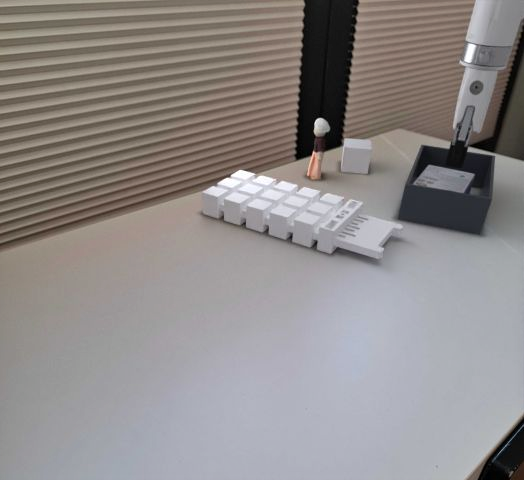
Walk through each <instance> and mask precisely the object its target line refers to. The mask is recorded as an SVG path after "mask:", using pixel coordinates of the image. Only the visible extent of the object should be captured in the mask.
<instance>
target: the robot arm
mask: <svg viewBox="0 0 524 480" xmlns="http://www.w3.org/2000/svg"><path fill="white" fill-rule="evenodd" d="M522 20H524V0H475V2H474V5H473V9H472V12H471V17H470V20H469V23H468V28H467V32H466V36H465V40H464V43H463V47H462V52H461V55H460V58H459V62H458V63H459V65H461V66H463V67H465V69H464V72H463V76H462V80H461V84H460V88H459V92H458V96H457V101H456V106H455V111H454V116H453V123H452V129H453V130H454V131H455V132H454V135H453V139H452V141H450V144H449V147H448V149H449V151H448V155H447V159H446V162H445V165H446V166H449V167H455V168H462V167H463V164H464V160H465V157H466V154H467V152H468V151H469V147H470V144H469V142H470V139H471V136H472V133H473V132H476V135H478V134H481V132H482V130H483V127H484V123H485V119H486V116H487V114H488V109H489V105H490V103H491V100H492V97H493V93H494V89H495V86H496V82H497V79H498V73H499V71H504V70H505V69H507V66H508V63H509V60H510V57H511V54H512V52H513V51H512V50H513V47H514V44H515V41H516V37H517V34H518V31H519V29H520V25H521V21H522Z"/></svg>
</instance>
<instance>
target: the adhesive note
mask: <svg viewBox="0 0 524 480" xmlns="http://www.w3.org/2000/svg"><path fill="white" fill-rule="evenodd" d="M343 141H344V142H343V147H342V155H341V164H340V172H341V173H352V174H363V175H365V174H366V175H368V174H369V168H370V162H371V157H372V150H373V147H372V140H371V139H363V138H362V139H360V138H349V137H345V138H344V140H343Z"/></svg>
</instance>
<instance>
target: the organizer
mask: <svg viewBox="0 0 524 480" xmlns="http://www.w3.org/2000/svg"><path fill="white" fill-rule="evenodd" d="M298 189H299V185H298V184H296V183H291V182H288V181H283V180H281V181H280V182H278V183H277V179H276V178H273V177H269V176H265V175H262V174H261V175H259V176H258V177H256V173H254V172H250V171H246V170H242V169H239V170H237V171H236V172H234V173H232V174H231V175H230V177H226V178H224V179H222V180H221V181H218V182H217V183H216V186H215V185H212V186H210V187H208V188H207V189H205V190H203V191H201V198H202V200H201V201H202V202H201V203H202V214H203V215H205V216H208V217H212V218H214V219H218V220H219V219H220V218H222V217H223V221H224V222H228V223H230V224H234V225H237V226H242V225H243V224H244V223H245V228H246V229H249V230H253V231H256V232H259V233H264V232H266V231H267V230H268V235H269V236H272V237H274V238H275V237H276V238H279V239H282V240H287V239H289V238H290V237H291V236H292V240H291V242H292V243H293V244H297V245H300V246H304V247H307V248H312V247H313V245H315V243H316V244H317V245H316V250H317V251H320V252H323V253H326V254H329V255H331V254H332V253H333V252H334V251H335V250H337V249H338V248H340V249H343V250H347V251H350V252H354V253H357V254H360V255H363V256H367V257H369V258H373V259H376V260H380V259H382V258H383V255H384V251H385V248H384V247H383V245H384V244H386V242H387V241H388V240H389V239H390V237H391V236H401V235H402V233H403V228H404V225H403V224H401V223H397V222H393V221H389V220H386V219H381V218H379V217H374V216H371V215H367V214H364V213H363V210H364V204H365V202H362V201H359V200H356V199H352V198H349V200H348V201H346V203H344V200H345V197H344V196H340V195H336V194H333V193H328V192H325V194H323V195H322V196H321V190H317V189H314V188H310V187H306V186H303V187H302V188H300V189H299V190H298Z"/></svg>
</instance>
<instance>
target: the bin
mask: <svg viewBox="0 0 524 480" xmlns="http://www.w3.org/2000/svg"><path fill="white" fill-rule="evenodd" d="M448 151H449V148H448V147H447V148H446V147H441V146H434V145H427V144H420V147H419V150H418V152H417V155H416V156H415V159H414V162H413V164H412V167H411V168H410V171H409V174H408V177H407V179H406V181H405V184H404V188H403V193H402V198H401V202H400V207H399V211H398V215H397V220H398V221H405V222H409V223H416V224H419V225H426V226H430V227H436V228H441V229H447V230H452V231H458V232H461V233H462V232H463V233H466V234H467V233H468V234H473V235H479V236H480V235H481V233H482V230H483V227H484V224H485V220H486V218H487V215H488V212H489V210H490V207H491V204H492V201H493V193H494V181H495V167H496V166H495V165H496V155H493V154H488V153H487V154H485V153H479V152H472V151H467V154H466V157H465V160H464V164H463V167H462V168H455V167H449V166H446V165H445V162H446V159H447V155H448ZM428 165H433V166H438V167H443V168H448V169H452V170H457V171H462V172H467V173H472V174H475V178H474V181H473V184H472V187H471V188H477V189H481V192H480V195H479V194H478V195H477V194H471V193H469V194H466V193H461V192H455V191H449V190H443V189H437V188H431V187H426V186H420V185H414V184H413V183H414V182H415V180H416V179H417V178H418V177H419V176H420V175H421V173H422V172H423V171H424V170H425V169H426V168H427V166H428Z"/></svg>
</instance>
